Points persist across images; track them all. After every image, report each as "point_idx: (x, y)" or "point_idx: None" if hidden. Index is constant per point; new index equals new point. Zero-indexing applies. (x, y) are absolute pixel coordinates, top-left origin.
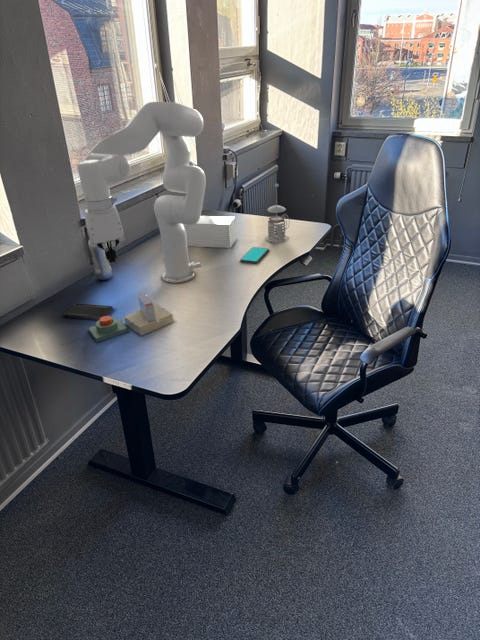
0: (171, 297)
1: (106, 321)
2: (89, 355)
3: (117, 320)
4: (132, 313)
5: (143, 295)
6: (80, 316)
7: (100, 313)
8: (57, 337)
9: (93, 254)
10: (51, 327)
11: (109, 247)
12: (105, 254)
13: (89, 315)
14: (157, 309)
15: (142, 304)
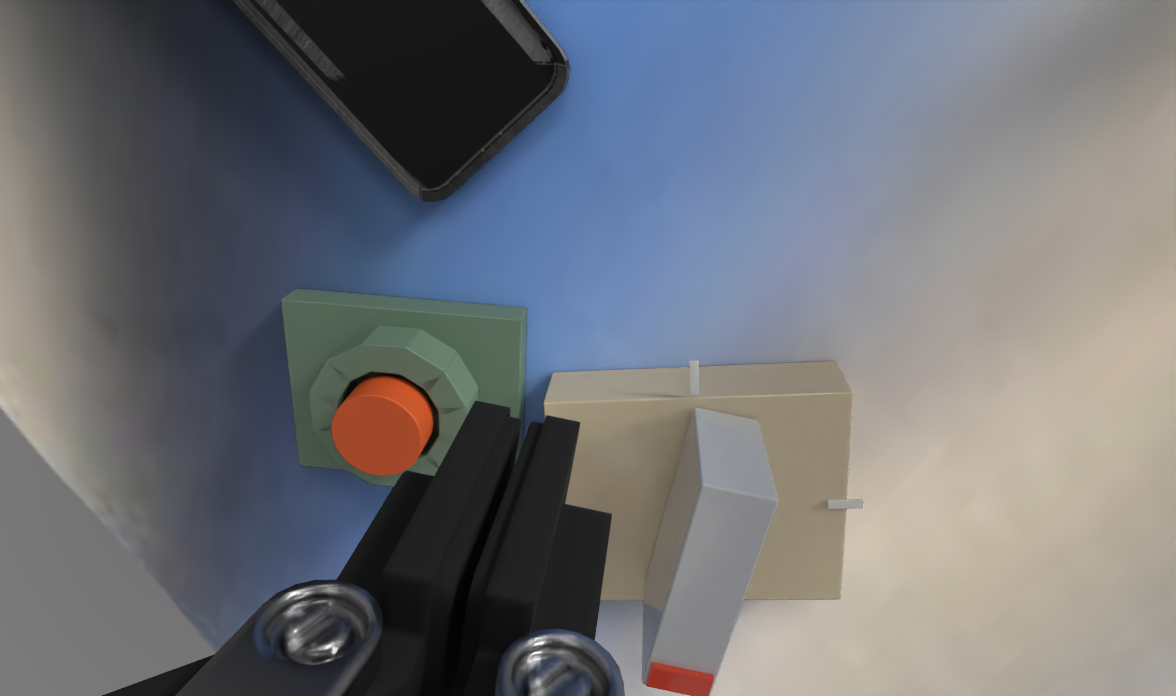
0: (1100, 221)
1: (373, 472)
2: (244, 537)
3: (502, 352)
4: (616, 408)
5: (738, 520)
6: (269, 34)
7: (433, 121)
8: (78, 208)
9: None
10: (35, 8)
11: (486, 611)
12: (372, 534)
13: (339, 89)
14: (802, 481)
15: (666, 578)
